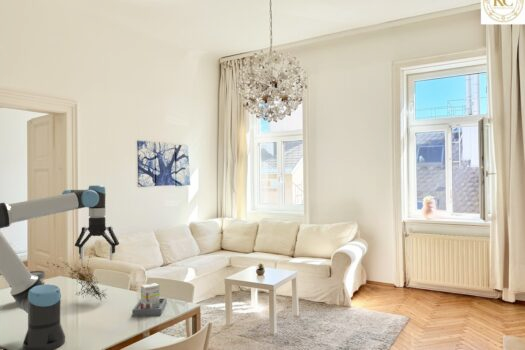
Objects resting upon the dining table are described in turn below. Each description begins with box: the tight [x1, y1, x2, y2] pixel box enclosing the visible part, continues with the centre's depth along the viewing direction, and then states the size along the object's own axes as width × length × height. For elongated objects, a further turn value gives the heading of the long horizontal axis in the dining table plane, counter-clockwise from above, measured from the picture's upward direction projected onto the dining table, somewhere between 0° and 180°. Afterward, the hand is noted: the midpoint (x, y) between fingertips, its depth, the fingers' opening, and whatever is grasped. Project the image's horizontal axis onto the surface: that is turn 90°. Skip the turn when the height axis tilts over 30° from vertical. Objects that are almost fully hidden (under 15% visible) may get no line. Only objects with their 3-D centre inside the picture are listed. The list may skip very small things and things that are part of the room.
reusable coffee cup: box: [29, 270, 46, 285], centre depth 221 cm, size 13×13×15 cm
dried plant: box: [46, 244, 108, 301], centre depth 220 cm, size 30×31×45 cm
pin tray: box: [132, 297, 168, 317], centre depth 202 cm, size 18×14×6 cm
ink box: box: [140, 282, 160, 309], centre depth 202 cm, size 9×5×12 cm, turn 128°
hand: (97, 260), depth 188 cm, fingers open, 13 cm apart
